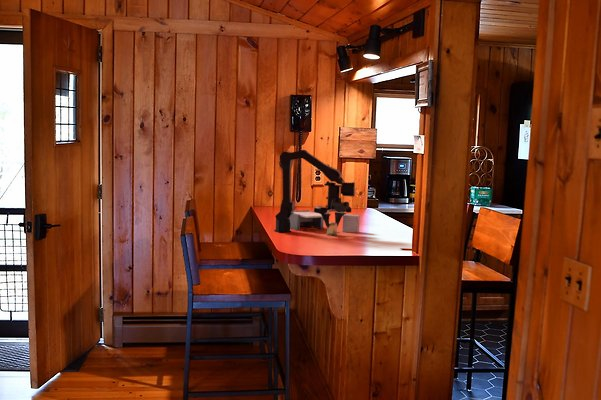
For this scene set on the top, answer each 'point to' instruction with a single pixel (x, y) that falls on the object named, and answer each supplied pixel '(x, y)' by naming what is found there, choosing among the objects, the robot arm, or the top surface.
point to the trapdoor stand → (296, 222)
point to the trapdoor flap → (307, 216)
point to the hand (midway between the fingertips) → (332, 227)
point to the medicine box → (350, 223)
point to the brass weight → (332, 229)
